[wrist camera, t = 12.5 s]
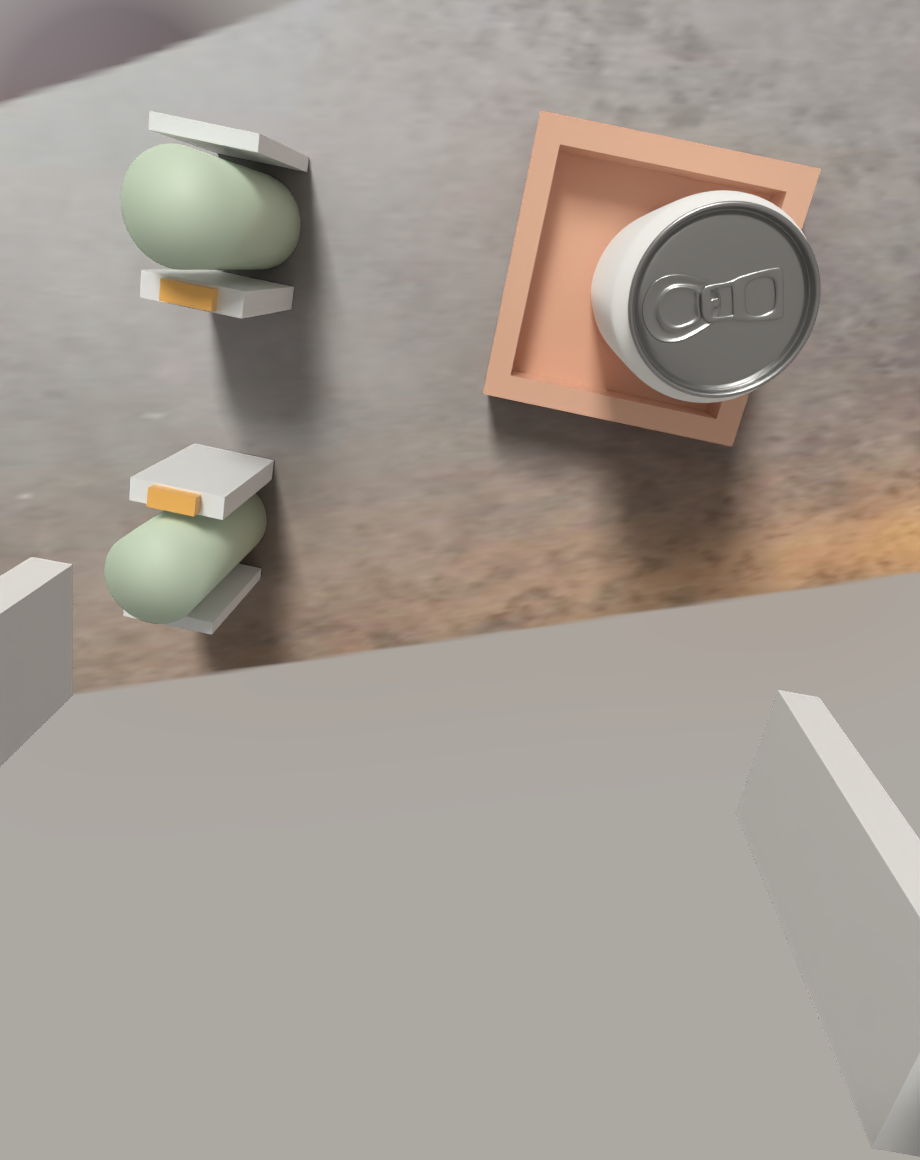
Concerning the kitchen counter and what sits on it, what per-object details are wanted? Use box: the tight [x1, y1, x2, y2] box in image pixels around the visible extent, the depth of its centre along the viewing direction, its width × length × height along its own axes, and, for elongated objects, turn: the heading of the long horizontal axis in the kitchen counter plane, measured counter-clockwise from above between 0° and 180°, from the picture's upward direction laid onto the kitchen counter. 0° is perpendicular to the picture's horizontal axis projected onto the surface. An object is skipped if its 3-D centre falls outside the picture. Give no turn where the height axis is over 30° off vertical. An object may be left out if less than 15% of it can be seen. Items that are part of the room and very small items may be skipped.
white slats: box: [123, 111, 309, 635], centre depth 36 cm, size 4×20×8 cm, turn 169°
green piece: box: [121, 144, 301, 270], centre depth 33 cm, size 4×4×9 cm
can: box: [591, 190, 820, 403], centre depth 31 cm, size 6×6×12 cm
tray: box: [483, 110, 821, 447], centre depth 36 cm, size 11×11×3 cm
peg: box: [105, 493, 267, 624], centre depth 38 cm, size 4×4×9 cm
